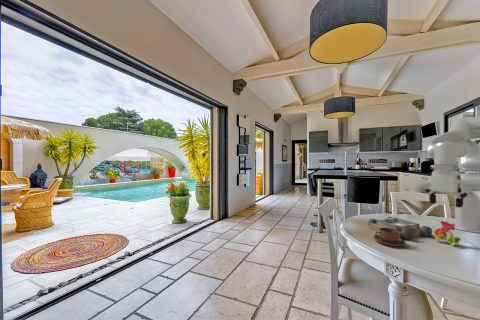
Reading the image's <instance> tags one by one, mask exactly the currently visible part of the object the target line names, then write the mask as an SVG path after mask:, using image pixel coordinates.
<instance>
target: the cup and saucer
mask: <svg viewBox="0 0 480 320" xmlns="http://www.w3.org/2000/svg"><path fill="white" fill-rule="evenodd" d="M373 239H374V240H375V241H377V242H378V243H380V244H382V245H386V246H390V247H402V246H404V245H405V244H406V241H405V239H404V240H403V239H400V238H399V232H398V231H397V230H395V229H391V228H380V229H379V232H377V231H375V233H374V235H373Z"/></svg>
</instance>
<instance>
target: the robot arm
mask: <svg viewBox="0 0 480 320" xmlns="http://www.w3.org/2000/svg"><path fill="white" fill-rule="evenodd" d="M473 139H480V115H479V116H472V117H471V116H470V117H465V118H464V117H463V118H458V119H456V120H455V121H453V123H452V124H451V125H450V127H449V128H448V131H447V132H444V133H442V134H440V135H438V136H436V137H434V138H432V139H431V140H430V142H428V143H429V144H428V145H427V147H426V155H427V156H428V157H429V158H432V159H434V160H433V163H434V165H433V167H434V168H433V170H432V172H431V176H430V182H429V183H425V184H423V189H424V191H425V192H426V193H427V195H429V196H428V197H429V203H430V204H436V203H437V195H436V193H444V194H453V195H454V218H455V219H454V224H455V226H454V228H455V229H456V230H459V231H463V232H470V233H475V234H476V233H477V234H480V197H479V195H477V194H476V193H475V192H480V145H479V143H477V142H475V141H474V140H473ZM460 171H461V172H465V173H461V172H460ZM467 172H468V173H467ZM469 172H470V173H469Z"/></svg>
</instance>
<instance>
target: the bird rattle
mask: <svg viewBox="0 0 480 320" xmlns="http://www.w3.org/2000/svg"><path fill="white" fill-rule="evenodd" d="M439 222H440V224H441V226H436V227H434V228H433V229H432V235H433V237H434V239H436V241H437V243H450V246H451V247H454V246H455V245H456V244H459V243H460V241H462V239H461V238H460V237H457V236H456V237H455V236H454V233H453V232H452V231H455V228H454V226H455V223H450V222H448V221H444V220H441V221H439ZM451 230H452V231H451Z"/></svg>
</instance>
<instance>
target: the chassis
mask: <svg viewBox="0 0 480 320" xmlns="http://www.w3.org/2000/svg"><path fill="white" fill-rule="evenodd" d="M367 224H368V226H369V230H371V231H375V232H379V229H380V228H391V229H395V230H397V231H398V232H399V238H400V239H402V240H403V239H404V240H407V241H410V240H411V239H412V238H416V237H423V236H424V237H426V238H430V237H431V236H432V235H433V229H432V228H431V227H430V226H428V225H423V226H420V223H417V222H413V221H409V220H406V219H402V218H398V217H393V216H388V217H387V218H381V219H375V218H370V219H369V220H368V223H367Z"/></svg>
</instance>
